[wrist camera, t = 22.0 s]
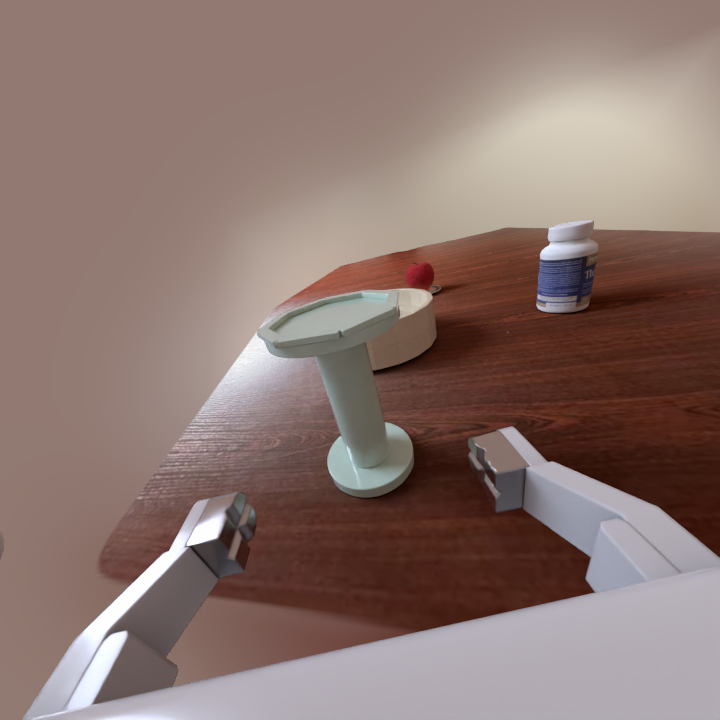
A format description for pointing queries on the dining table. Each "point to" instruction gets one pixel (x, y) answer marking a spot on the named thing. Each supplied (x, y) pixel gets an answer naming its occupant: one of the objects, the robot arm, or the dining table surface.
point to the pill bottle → (567, 268)
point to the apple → (421, 277)
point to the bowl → (405, 331)
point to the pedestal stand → (349, 384)
